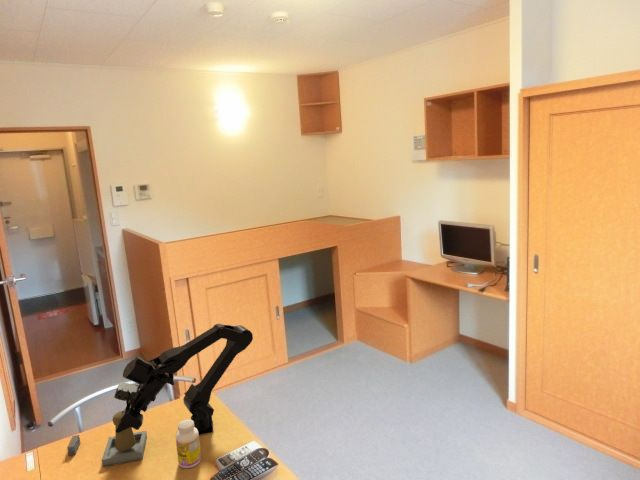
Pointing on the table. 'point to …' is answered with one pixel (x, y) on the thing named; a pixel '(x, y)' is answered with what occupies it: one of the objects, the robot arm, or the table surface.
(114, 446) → the tray
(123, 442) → the cork
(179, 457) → the supplement bottle
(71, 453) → the bar
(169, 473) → the table surface
